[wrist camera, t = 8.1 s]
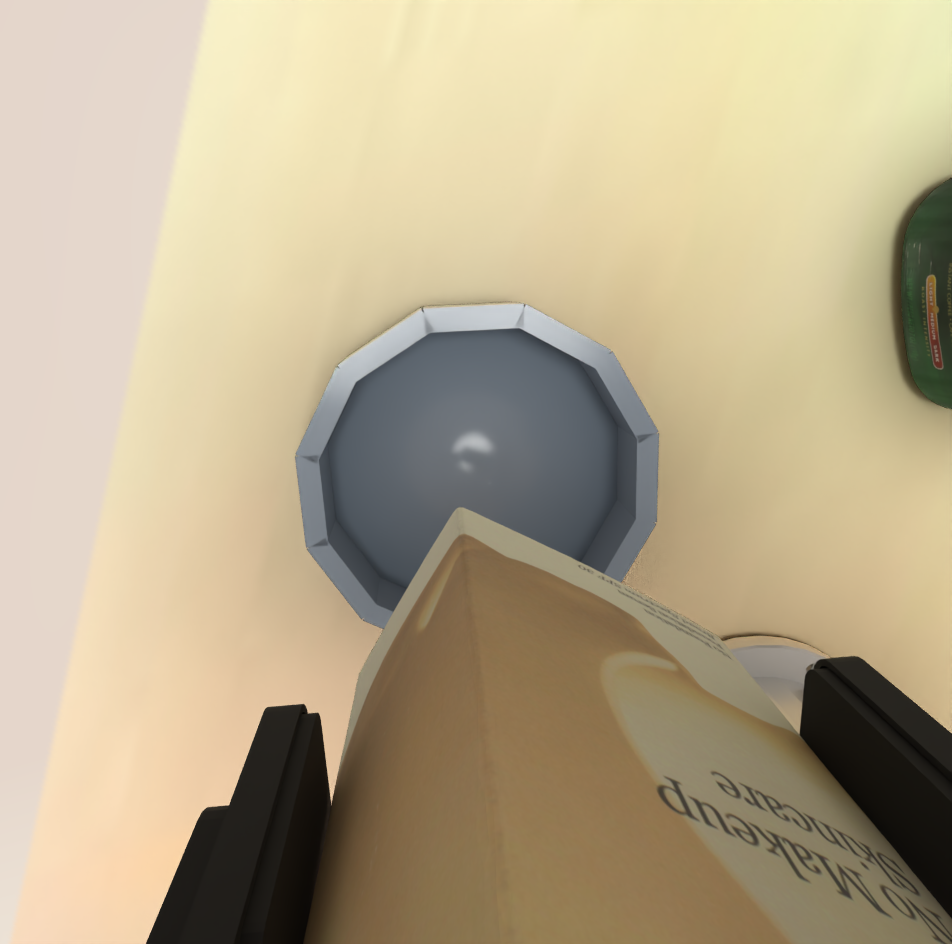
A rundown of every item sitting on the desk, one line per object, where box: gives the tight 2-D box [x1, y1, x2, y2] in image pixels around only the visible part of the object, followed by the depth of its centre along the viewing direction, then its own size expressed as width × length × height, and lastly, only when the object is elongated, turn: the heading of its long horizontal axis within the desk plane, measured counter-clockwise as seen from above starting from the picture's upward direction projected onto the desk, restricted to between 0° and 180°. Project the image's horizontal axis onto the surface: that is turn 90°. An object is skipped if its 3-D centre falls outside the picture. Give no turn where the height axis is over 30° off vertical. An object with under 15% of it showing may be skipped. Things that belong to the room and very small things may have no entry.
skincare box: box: [303, 507, 952, 944], centre depth 8 cm, size 6×4×12 cm
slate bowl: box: [295, 302, 659, 629], centre depth 26 cm, size 13×13×4 cm
